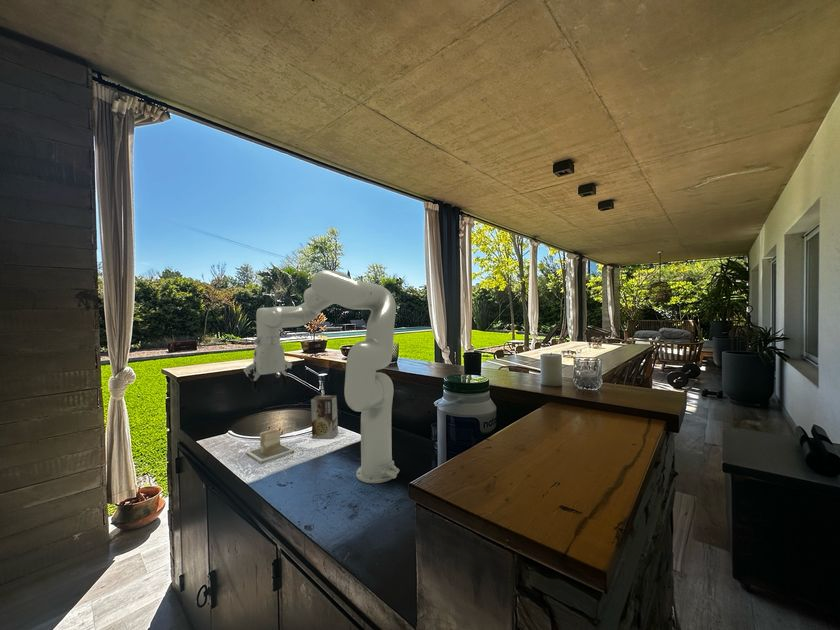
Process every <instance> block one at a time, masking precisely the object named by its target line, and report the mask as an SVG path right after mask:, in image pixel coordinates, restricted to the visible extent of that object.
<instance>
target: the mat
mask: <svg viewBox="0 0 840 630" xmlns="http://www.w3.org/2000/svg"><path fill="white" fill-rule="evenodd" d="M294 453H295V449H294V448H291V447H289V446H288V445H285V444H283V443H282V442H280V452H277V453H274V454H271V455H268V456H266V455H264V454H263V453H261V452H260V447H257V448H253V449H250V450H247V451H246V452H245V455H246V456H248V457H249V456H250V458H251V459H253V460H255V461H256V462H257V461H258V463H259V464H261V463H262V464H264V462H265V463H267V461H268V462H270V460H271V461H273V459H274V460H277V459H279V458H282V457H285V456H288V455H291V454H294ZM276 458H277V459H276Z"/></svg>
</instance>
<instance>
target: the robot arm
mask: <svg viewBox="0 0 840 630" xmlns="http://www.w3.org/2000/svg"><path fill="white" fill-rule="evenodd" d="M303 301H304V302H303V303H301V304H300V305H297V306H289V305H288V306H282V305H281V306H279V305H278V306H273V307H260V308H258V309H257V310H256V316H255V317H256V339H255V338H254V339H253V340H252V342H253V344H256V346H255V347H254V351H253V352H254V353H253V359H252V361H253V362H252V363H251V364H250V365H248V366H246V367H245V368H243V372H244V373H245V375H246V377H247V378H249V379H250V380H251V388H252V389H251V390H252V391H253V392H256V393H259V392H260V381H259V380H258V379H259V378H260V376H261V375H263V376H264V375H272V374H277V373H278V374H279V378H278V379H279V387H281V388H285V387H286V384H287V376H288V373H289V372H290V371H291V369H292V366H293V363H292V362H291V361H288V360H286V357H285V351H284V347H283V344H281V342H280V341H281V340H280V338H281V337H280V335H281V333H280V329H286V328H298V327H301V326H302V327H303V326H304V325H306V324H308V323H310V322H311V321H315V319H317V318H318V316H319V315H320V313H321V311H323V310H324V309H326V308H328V307H330V306H332V305H333V304H334V305H335V304H336V305H339V306H340V307H344V308H346V309H350V310H355V311H356V310H363V311H364V310H369V311H370V315H369V317H368V319H367V323H366V332H365V339H364V340H361V341H358V342H356V343H354V344H353V345H352V346H351V348H350V349H349V351H348V354H347V357H346V363H345V376H344V377H345V378H344V399H345V402H346V405H347V406H348V408H350V409H351V410H352V411H354V412H361V414H360V462H361V463H360V464H361V466H359V468H357V469H356V472H355V473H356V478H357V479H358V480H359V481H360V482H363V483H366V484H382V483H385V482H388V481H391V480H393V479H396V478H397V476H398V474H399V472H400V469H399V468H398V467H396V465H395V460H393V455H392V452H393V451H392V448H393V447H392V441H393V440H392V412H393V411H392V408H393V398H394V384H393V383H394V382H393V381H392V379H391V378H390V376H388V375H387V374H386V373H383V372H379V370H382V369H386V367H388V366H389V365H390V364H391V362H392V358H393V349H394V338H395V337H394V336H395V323H396V313H397V310H396V309H397V303H396V300H395V298H394V295H393V294H392V293H391V291H389V289H387V288H386V287H384V286H383V285H382V284H378V283H374V282H367V281H366V282H365V281H360V280H353V279H352V278H351V277H350V276H349V275H348V274H346V273H344V272H341V271H336V270H335V271H334V270H329V269H324V270H323V269H322V270H320V271H318V272H316V273H315V274H314V275H313V276H312V279H311V283H310V287H309V288H306V289H305V290H304V292H303ZM251 370H252V371H253V374H252V373H251ZM377 371H378V372H377Z"/></svg>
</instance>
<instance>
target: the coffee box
mask: <svg viewBox="0 0 840 630" xmlns="http://www.w3.org/2000/svg"><path fill="white" fill-rule="evenodd" d="M310 406H311V409H310V410H311V438H312V439H334V438H335V437H336V436H338V434H339V429H338V428H339V424H338V423H339V421H338V415H339V414H338V395H336V394H335V395H331V394H330V395H328V394H327V395H316V396H314V397H313V398H311V399H310Z"/></svg>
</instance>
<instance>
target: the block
mask: <svg viewBox="0 0 840 630" xmlns="http://www.w3.org/2000/svg"><path fill="white" fill-rule="evenodd" d="M259 438H260V439H259V440H260V441H259V443H260V444H259V445H260V447H259V448H260V452H261V453H263V454H264V455H266V456H268V455H271V454H274V453H277V452H280V443H281V432H280V431H278V430H276V429H275V428H274V429H270V430H265V431H261V432H259Z"/></svg>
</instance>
